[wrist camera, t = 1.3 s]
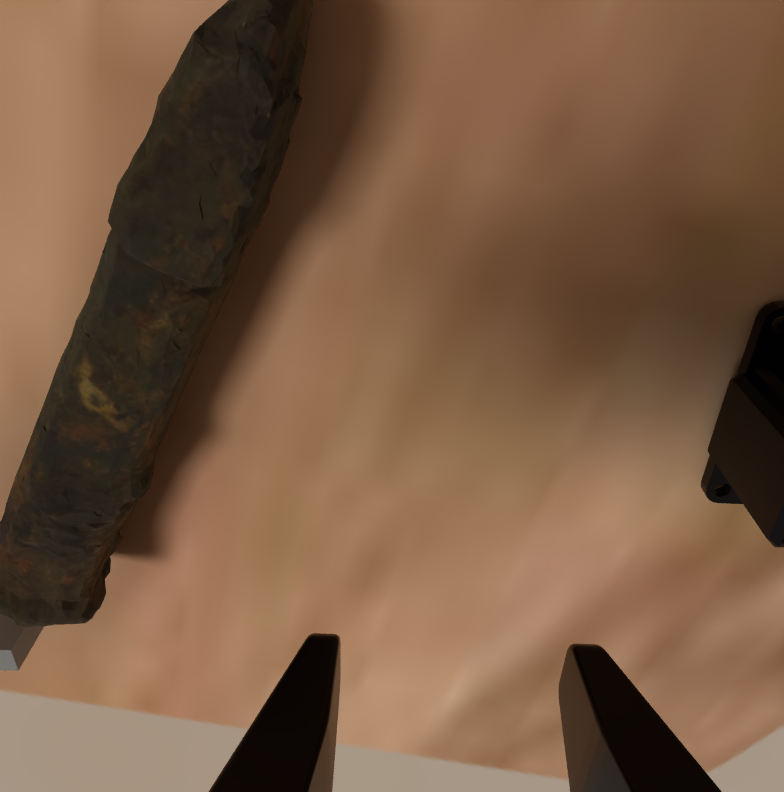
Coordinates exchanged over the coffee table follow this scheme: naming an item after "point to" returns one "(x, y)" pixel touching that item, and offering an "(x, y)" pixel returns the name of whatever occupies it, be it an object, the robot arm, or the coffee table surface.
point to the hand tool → (151, 304)
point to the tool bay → (15, 643)
